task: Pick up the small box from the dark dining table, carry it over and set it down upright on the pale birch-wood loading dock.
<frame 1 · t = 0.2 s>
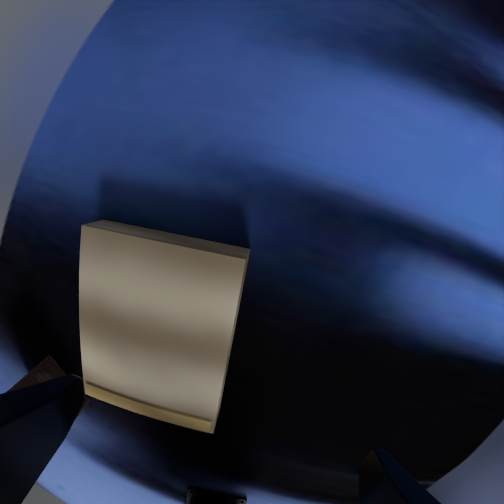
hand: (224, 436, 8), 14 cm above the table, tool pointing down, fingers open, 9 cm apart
box: (59, 386, 26), on the table
dock: (161, 324, 23), on the table
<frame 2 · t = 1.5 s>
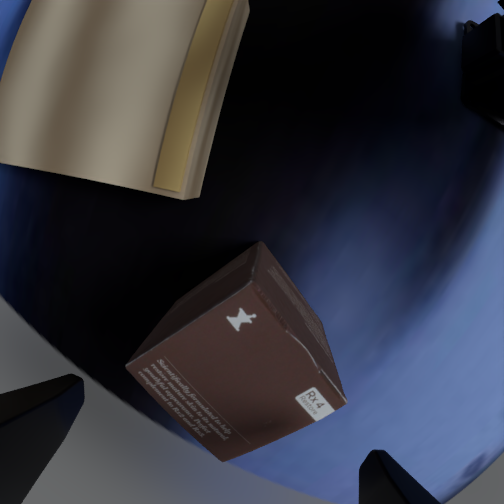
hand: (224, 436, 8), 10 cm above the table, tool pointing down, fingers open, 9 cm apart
box: (250, 312, 18), on the table
dock: (109, 82, 15), on the table
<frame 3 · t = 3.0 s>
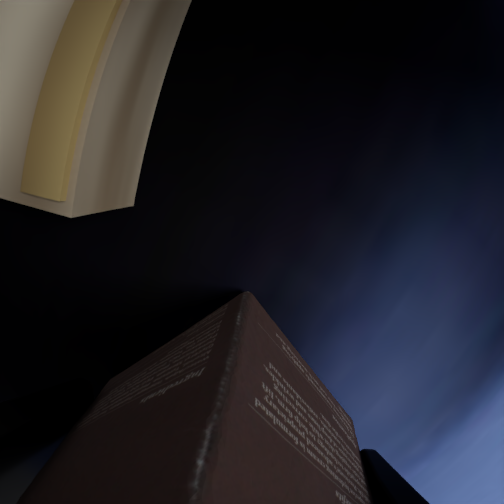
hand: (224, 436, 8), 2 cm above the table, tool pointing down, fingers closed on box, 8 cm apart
box: (231, 401, 10), on the table, touching gripper
dock: (20, 34, 7), on the table
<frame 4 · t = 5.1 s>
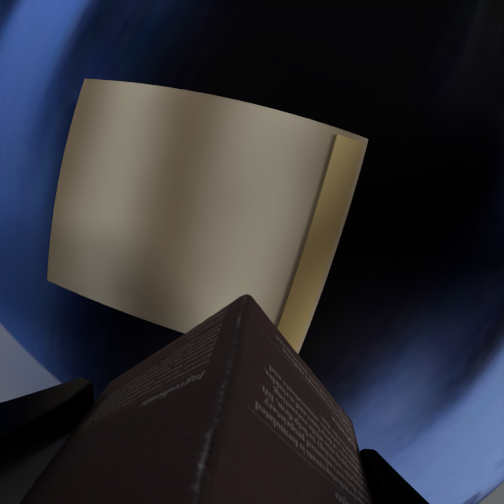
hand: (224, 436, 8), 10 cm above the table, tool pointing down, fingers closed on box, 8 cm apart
box: (231, 403, 10), point 8 cm above the table, touching gripper
dock: (195, 209, 17), on the table
when the fingers open (6 cm above the table, at t = 7.4 s): box drops 1 cm, resting on dock.
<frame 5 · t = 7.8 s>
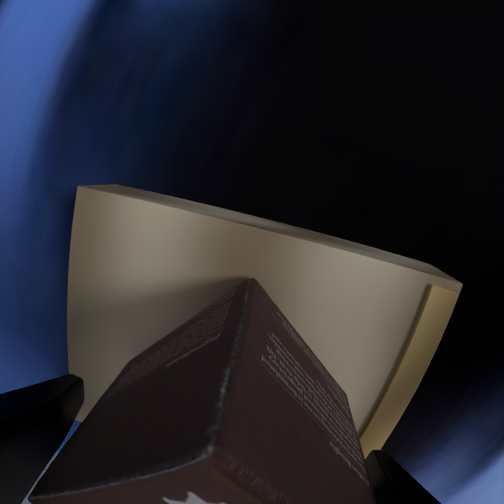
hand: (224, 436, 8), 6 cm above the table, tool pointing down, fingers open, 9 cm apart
box: (238, 379, 11), point 3 cm above the table, touching dock
dock: (243, 343, 14), on the table
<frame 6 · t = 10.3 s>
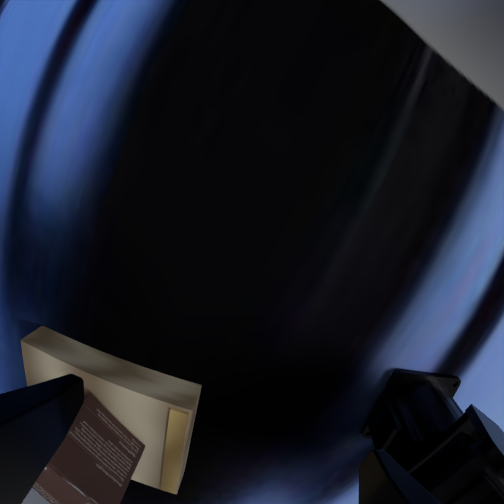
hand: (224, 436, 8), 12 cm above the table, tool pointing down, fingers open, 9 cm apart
box: (99, 427, 20), point 3 cm above the table, touching dock
dock: (112, 407, 23), on the table
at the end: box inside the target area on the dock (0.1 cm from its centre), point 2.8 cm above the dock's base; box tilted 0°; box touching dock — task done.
